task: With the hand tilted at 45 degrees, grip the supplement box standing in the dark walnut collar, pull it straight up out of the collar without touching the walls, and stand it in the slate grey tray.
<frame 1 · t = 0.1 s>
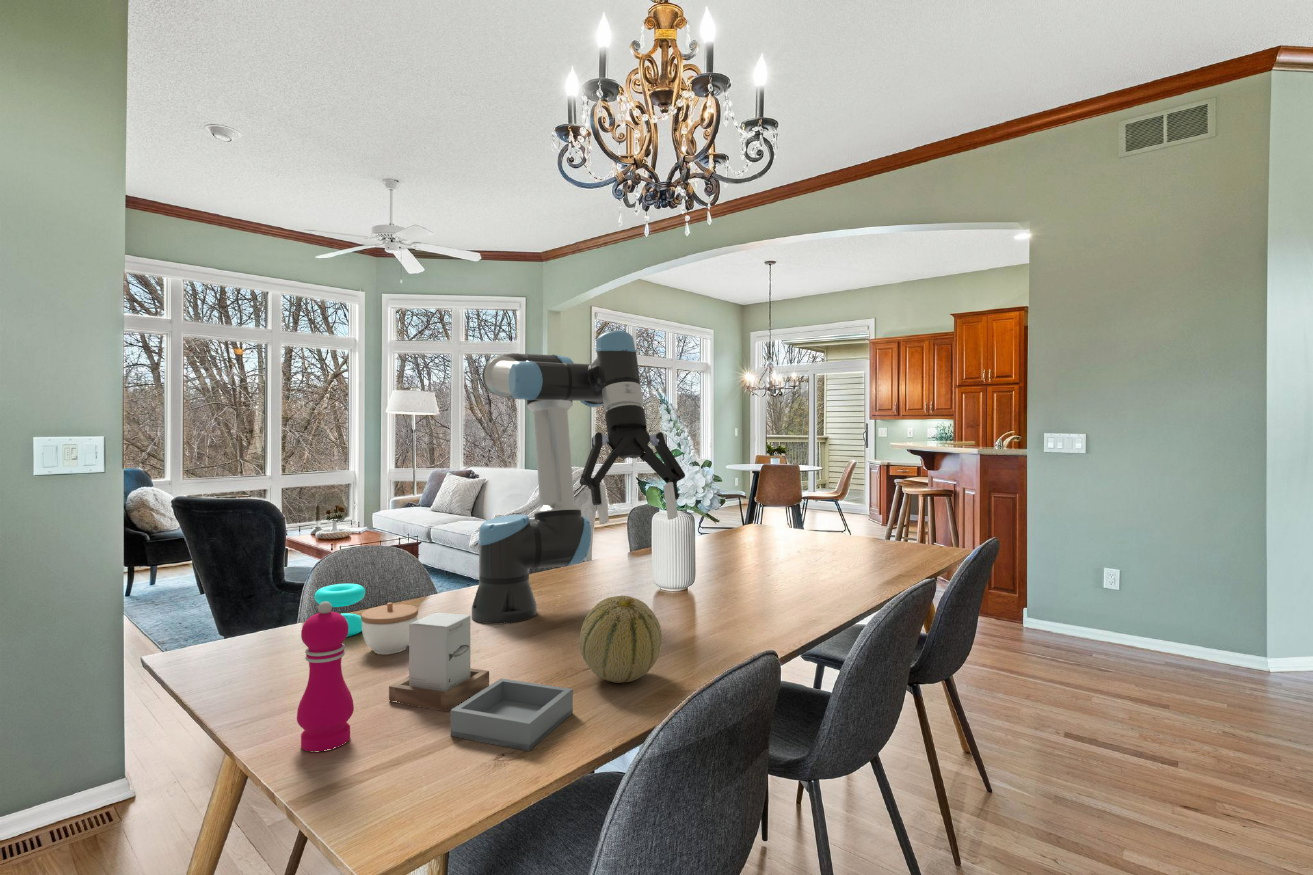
hand: (639, 520, 120), 28 cm above the table, tool tilted 20°, fingers open, 13 cm apart
supplement box: (440, 694, 111), resting in walnut collar
cantaloupe: (620, 680, 118), on the table
walnut collar: (440, 693, 111), on the table
pepper mill: (326, 743, 94), on the table
slate tray: (514, 724, 100), on the table
lidded jar: (390, 650, 134), on the table
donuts: (340, 633, 145), on the table
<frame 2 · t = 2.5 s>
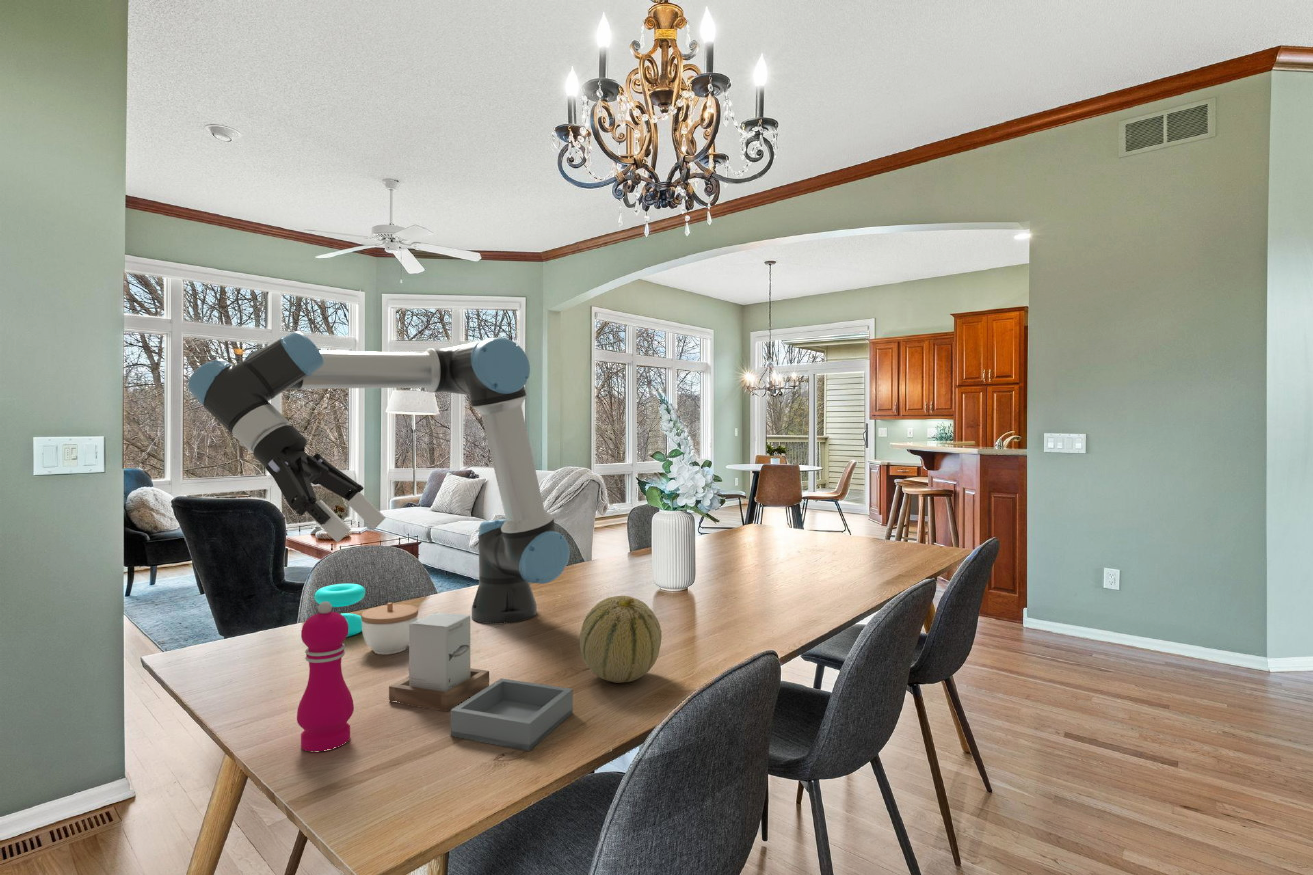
hand: (363, 529, 110), 28 cm above the table, tool tilted 45°, fingers open, 13 cm apart
nothing on the table moved.
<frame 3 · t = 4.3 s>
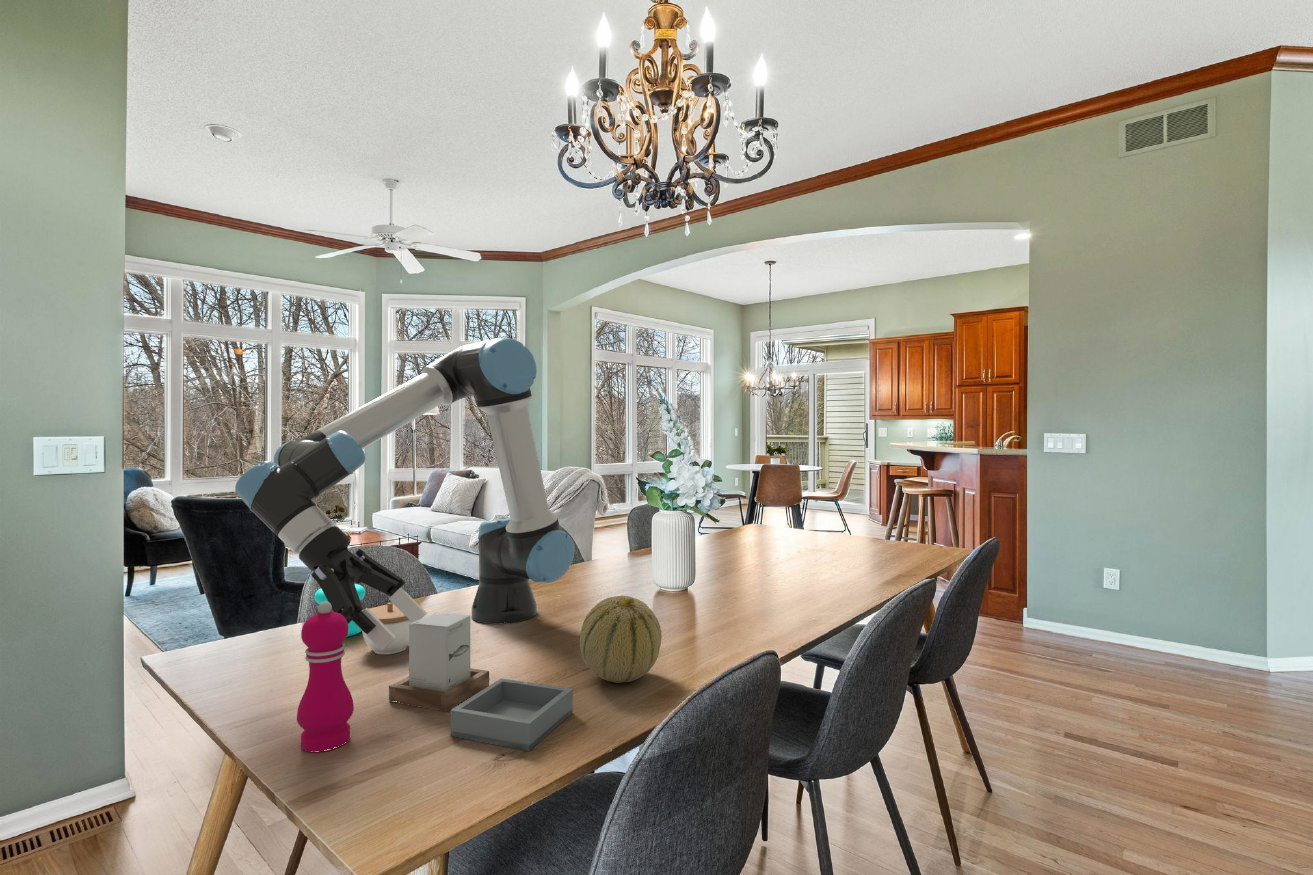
hand: (406, 630, 110), 11 cm above the table, tool tilted 45°, fingers open, 13 cm apart
nothing on the table moved.
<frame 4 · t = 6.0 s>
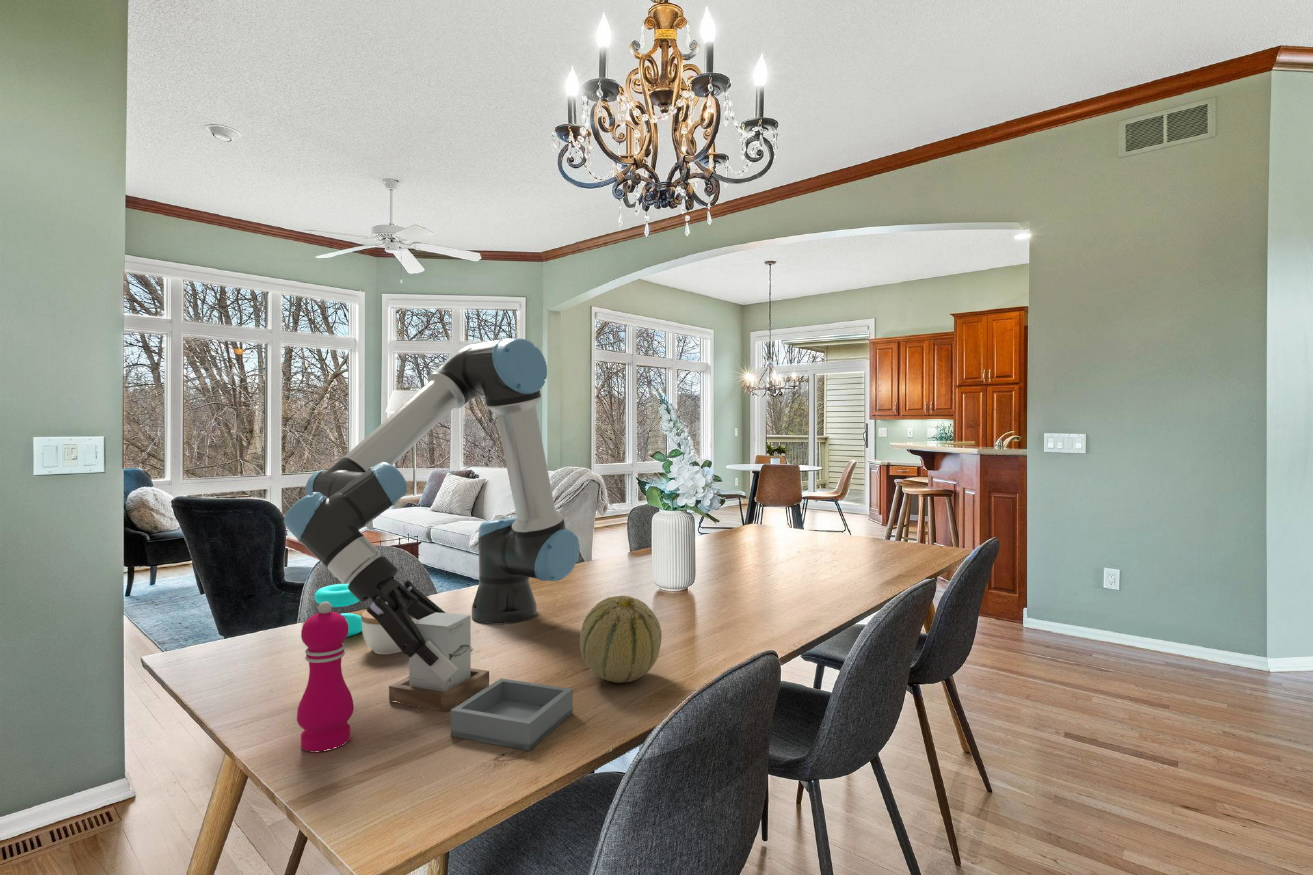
hand: (459, 664, 111), 5 cm above the table, tool tilted 45°, fingers closed on supplement box, 9 cm apart
supplement box: (440, 694, 111), resting in walnut collar, touching gripper
everything else where it was.
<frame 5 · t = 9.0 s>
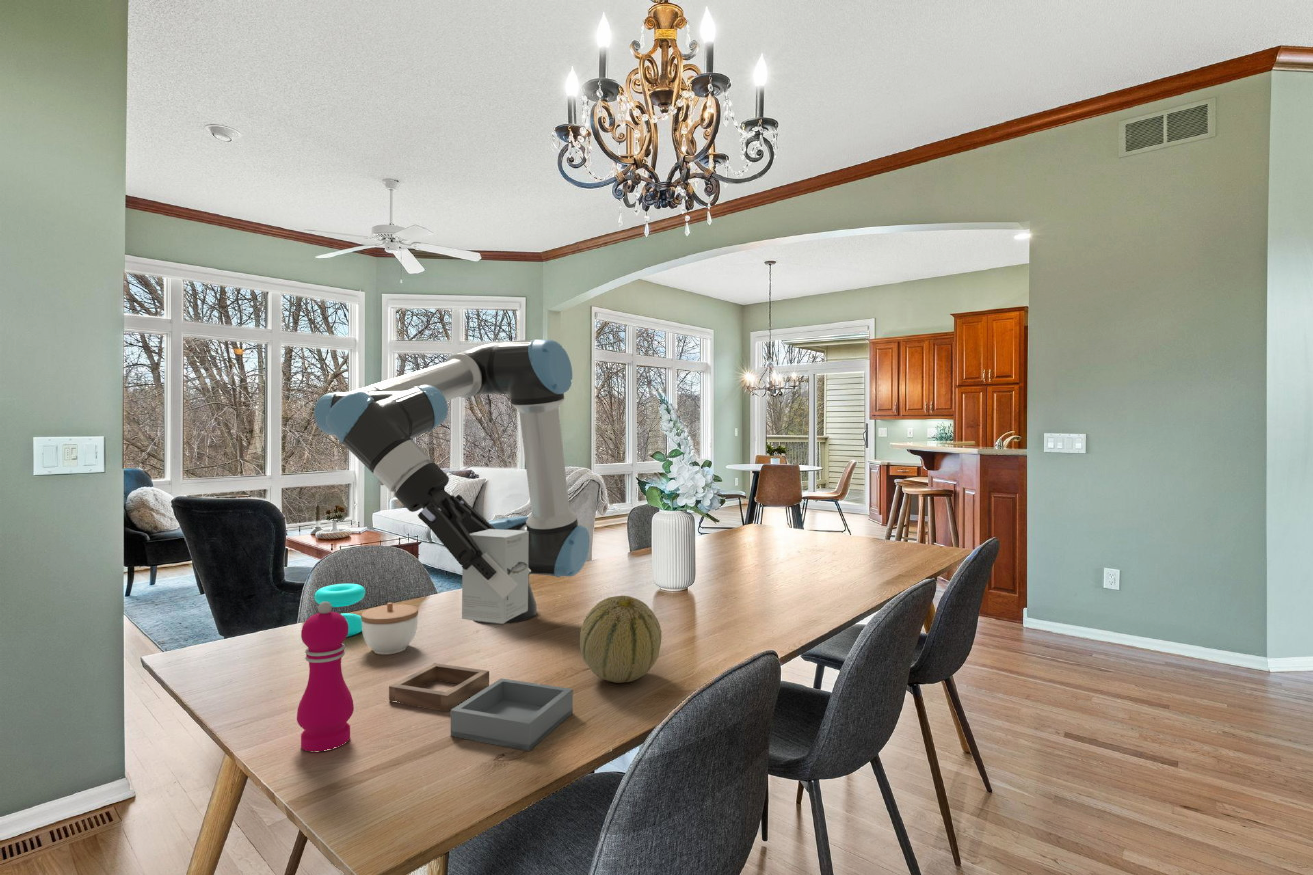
hand: (517, 584, 100), 21 cm above the table, tool tilted 45°, fingers closed on supplement box, 9 cm apart
supplement box: (495, 616, 100), point 16 cm above the table, touching gripper
everything else where it was.
when the fingers open (7 cm above the table, at t = 12.3 s): supplement box drops 2 cm, resting on slate tray.
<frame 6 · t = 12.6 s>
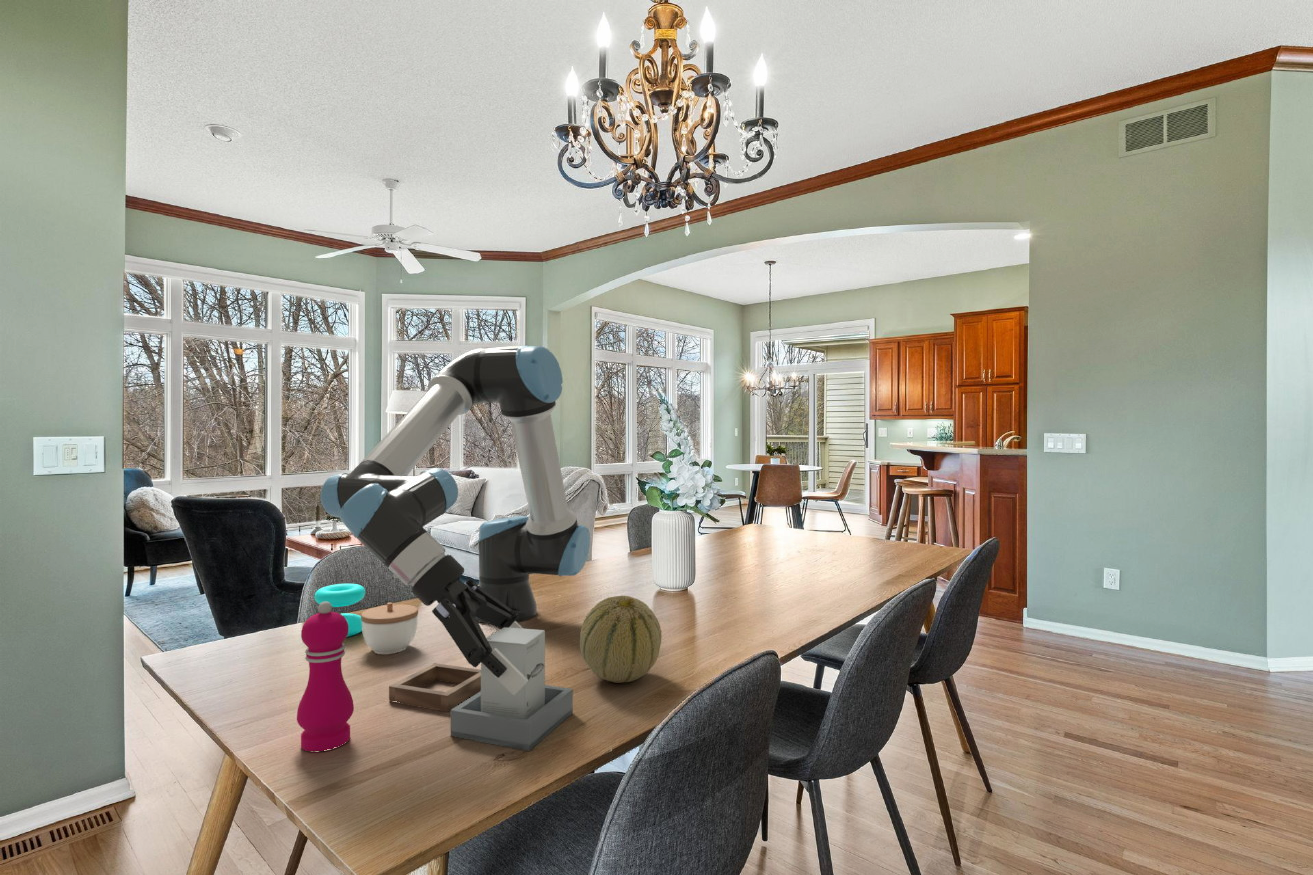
hand: (530, 670, 100), 8 cm above the table, tool tilted 45°, fingers open, 12 cm apart
supplement box: (513, 719, 100), point 1 cm above the table, touching slate tray
everything else where it was.
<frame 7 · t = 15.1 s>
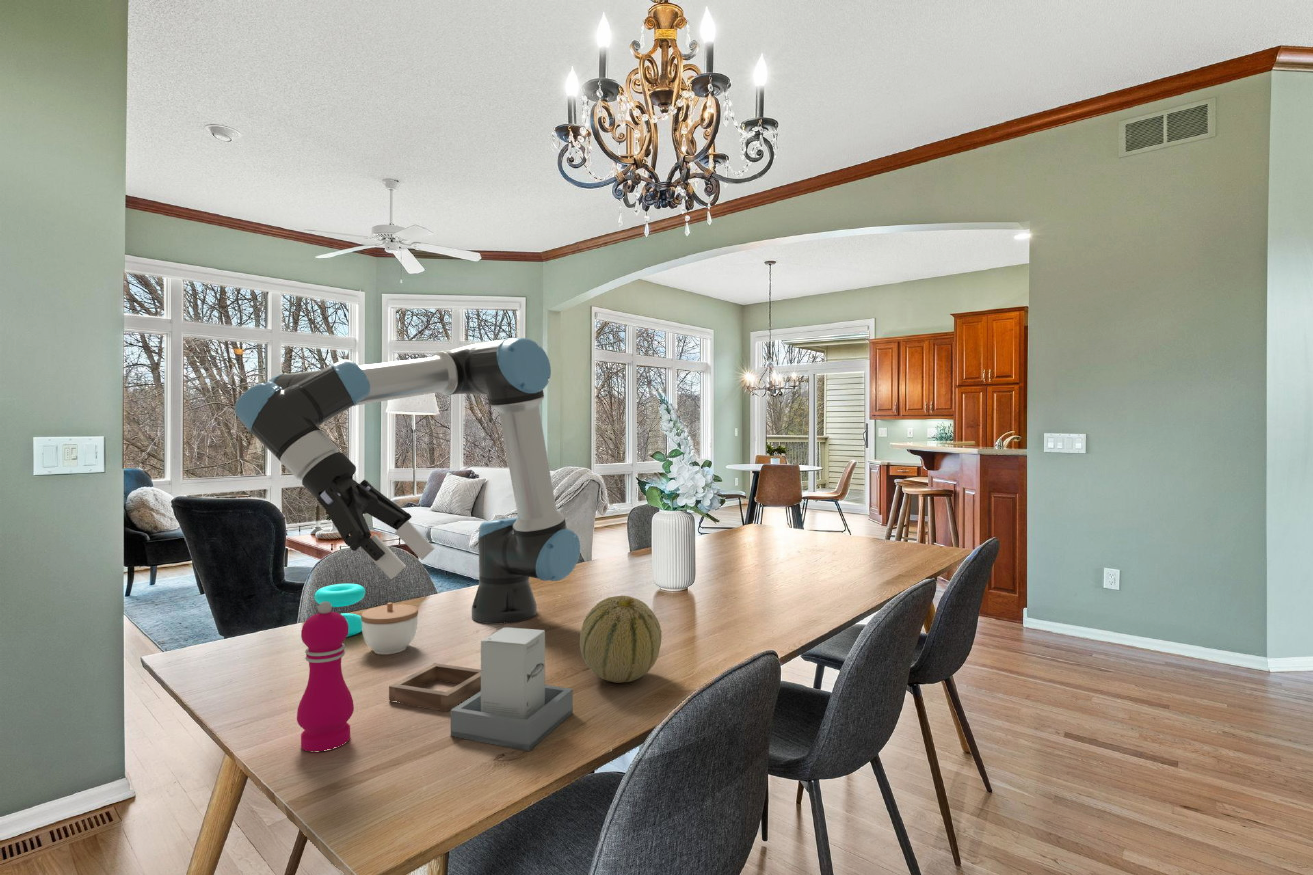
hand: (414, 563, 105), 23 cm above the table, tool tilted 45°, fingers open, 13 cm apart
nothing on the table moved.
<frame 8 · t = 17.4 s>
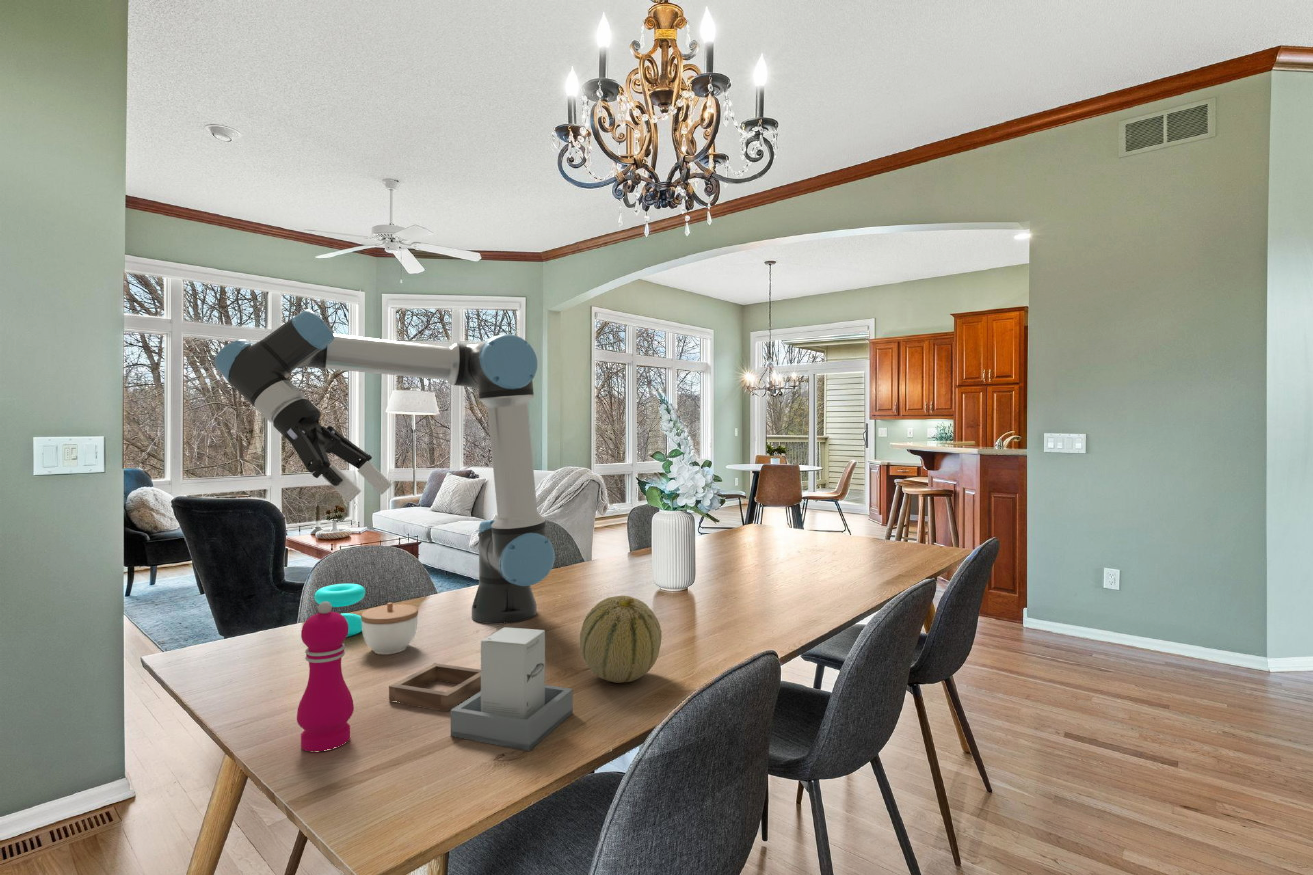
hand: (371, 492, 122), 33 cm above the table, tool tilted 45°, fingers open, 13 cm apart
nothing on the table moved.
at the end: supplement box inside the target area on the slate tray (0.4 cm from its centre), point 0.6 cm above the slate tray's base; supplement box tilted 0°; the gripper is holding nothing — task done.
